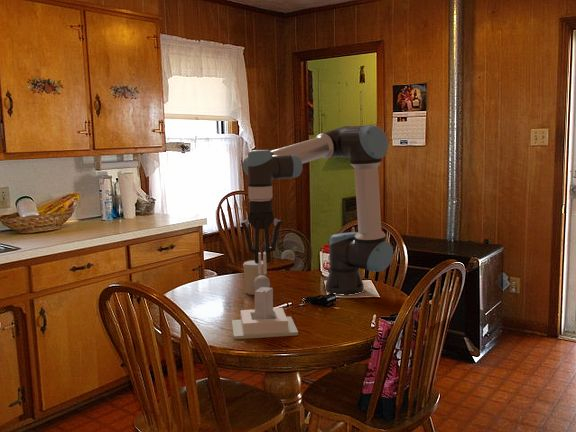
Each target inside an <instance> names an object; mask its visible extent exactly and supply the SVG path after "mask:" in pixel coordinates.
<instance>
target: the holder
mask: <svg viewBox="0 0 576 432" xmlns="http://www.w3.org/2000/svg"><path fill="white" fill-rule="evenodd" d="M231 329H232V336H233V340H243V339H259V338H260V339H261V338H276V337H289V336H290V337H291V336H292V337H293V336H299V331H298V328H297V327H296V323H295V322H294V319H293V318H292V316H287V315H286V312H285V311H284V308H283V307H273V319H260V320H255V308H254V309H241V310H240V319H231Z"/></svg>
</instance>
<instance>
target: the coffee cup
mask: <svg viewBox="0 0 576 432" xmlns="http://www.w3.org/2000/svg"><path fill="white" fill-rule="evenodd" d="M267 265H268V263H266V267H267ZM242 266H243V274H244V275H243V276H244V277H243V278H244V284H245V285H244V286H245V294H248V295H252V296H253V295H254V296H255V291H256V290H255V288H254V280H255V278H256V277H258V276H261V275H263V276H266V277H267V274H264V272H263V260H261V274H259V273H258V264H256V263H255V259H254V260H253V259H252V260H247V261H244V262H243V264H242Z"/></svg>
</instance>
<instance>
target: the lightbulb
mask: <svg viewBox="0 0 576 432" xmlns="http://www.w3.org/2000/svg"><path fill="white" fill-rule="evenodd" d="M270 286H271V281H270V279H269V277H267V275H266V276H263V275H261V276H258V277H256V278H255V280H254V288H255V290H256V291H257V290H258V289H259V288H261V287H269V288H271V287H270Z"/></svg>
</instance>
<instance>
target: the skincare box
mask: <svg viewBox="0 0 576 432" xmlns="http://www.w3.org/2000/svg"><path fill="white" fill-rule="evenodd" d="M273 308H274V288H273V287H261V288H259V289H258V290H257V291H255V295H254V309H255V320H260V319H273Z"/></svg>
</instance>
